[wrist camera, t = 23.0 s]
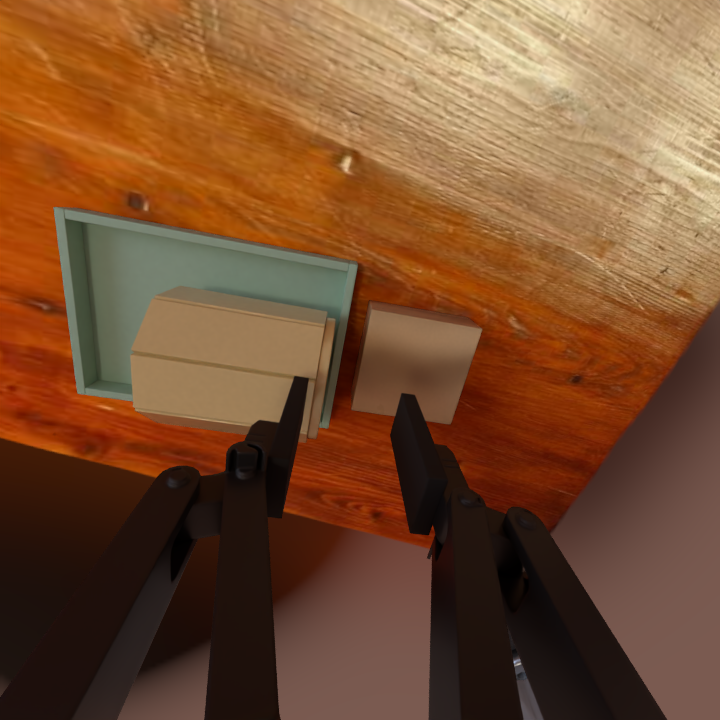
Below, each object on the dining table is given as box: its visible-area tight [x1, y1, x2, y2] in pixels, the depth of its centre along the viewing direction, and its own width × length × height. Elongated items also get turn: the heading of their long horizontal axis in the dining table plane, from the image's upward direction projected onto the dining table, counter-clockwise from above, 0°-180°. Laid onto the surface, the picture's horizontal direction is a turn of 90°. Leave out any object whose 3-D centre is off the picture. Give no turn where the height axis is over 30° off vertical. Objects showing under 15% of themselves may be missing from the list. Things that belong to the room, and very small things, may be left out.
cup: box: [130, 286, 336, 443], centre depth 23 cm, size 8×8×10 cm
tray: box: [54, 207, 358, 428], centre depth 26 cm, size 19×13×2 cm
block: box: [351, 300, 482, 424], centre depth 27 cm, size 8×8×3 cm
